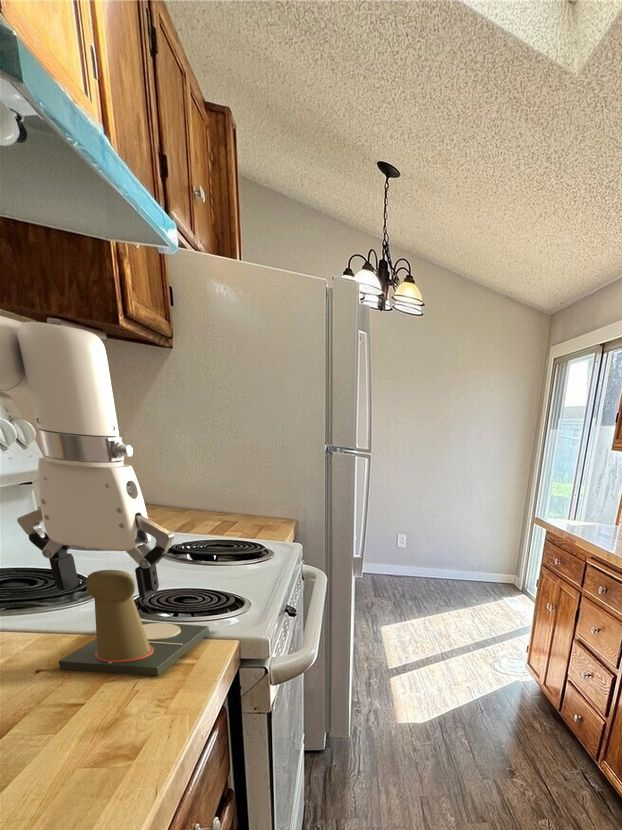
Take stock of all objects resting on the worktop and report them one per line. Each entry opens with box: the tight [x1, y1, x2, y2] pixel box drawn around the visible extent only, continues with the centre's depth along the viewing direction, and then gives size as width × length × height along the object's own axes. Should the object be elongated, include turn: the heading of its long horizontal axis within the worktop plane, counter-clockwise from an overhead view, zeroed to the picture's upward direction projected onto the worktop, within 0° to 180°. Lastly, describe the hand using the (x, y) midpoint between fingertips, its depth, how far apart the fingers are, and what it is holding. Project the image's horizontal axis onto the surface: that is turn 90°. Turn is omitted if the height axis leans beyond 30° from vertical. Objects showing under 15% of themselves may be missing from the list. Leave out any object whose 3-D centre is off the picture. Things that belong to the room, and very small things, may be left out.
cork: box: [85, 569, 151, 660], centre depth 73 cm, size 6×6×11 cm
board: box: [57, 620, 210, 677], centre depth 79 cm, size 12×16×1 cm
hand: (108, 591), depth 72 cm, fingers open, 9 cm apart
